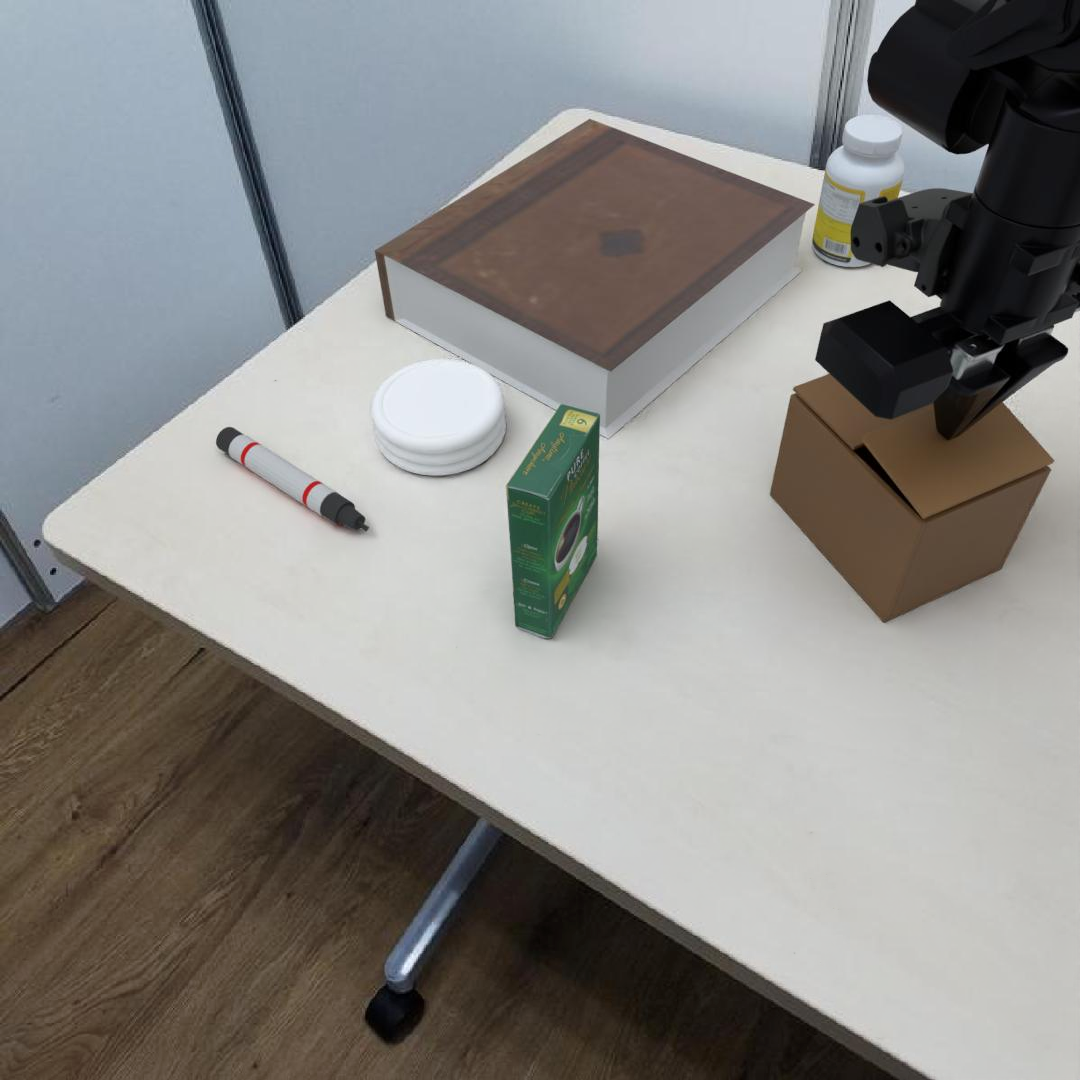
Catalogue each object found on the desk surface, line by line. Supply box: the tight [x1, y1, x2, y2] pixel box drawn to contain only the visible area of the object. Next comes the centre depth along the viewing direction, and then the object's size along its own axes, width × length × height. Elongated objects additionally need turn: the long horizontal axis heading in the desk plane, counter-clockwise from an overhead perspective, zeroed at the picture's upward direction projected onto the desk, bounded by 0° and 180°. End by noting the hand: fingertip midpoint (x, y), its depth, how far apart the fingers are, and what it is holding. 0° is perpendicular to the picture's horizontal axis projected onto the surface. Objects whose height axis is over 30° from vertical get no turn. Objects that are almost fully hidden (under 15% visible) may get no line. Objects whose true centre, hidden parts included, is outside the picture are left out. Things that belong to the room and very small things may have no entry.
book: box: [374, 118, 816, 440], centre depth 87 cm, size 24×28×6 cm
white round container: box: [369, 358, 507, 476], centre depth 76 cm, size 10×10×4 cm
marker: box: [215, 426, 370, 532], centre depth 73 cm, size 15×2×2 cm, turn 51°
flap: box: [860, 401, 1055, 519], centre depth 60 cm, size 6×10×1 cm, turn 116°
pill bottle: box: [811, 114, 906, 268], centre depth 88 cm, size 6×6×12 cm
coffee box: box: [505, 404, 600, 639], centre depth 63 cm, size 8×3×13 cm, turn 155°
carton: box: [769, 373, 1052, 623], centre depth 66 cm, size 13×10×10 cm
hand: (947, 434), depth 61 cm, fingers closed, pressing on flap
